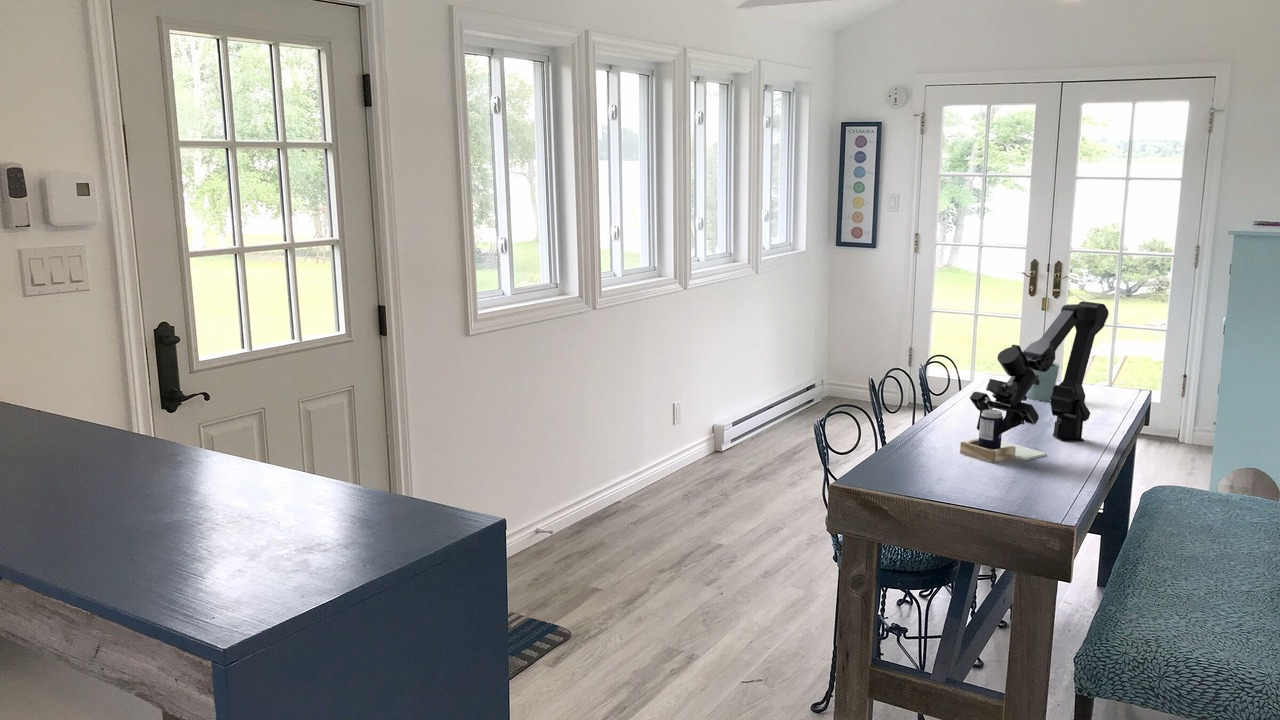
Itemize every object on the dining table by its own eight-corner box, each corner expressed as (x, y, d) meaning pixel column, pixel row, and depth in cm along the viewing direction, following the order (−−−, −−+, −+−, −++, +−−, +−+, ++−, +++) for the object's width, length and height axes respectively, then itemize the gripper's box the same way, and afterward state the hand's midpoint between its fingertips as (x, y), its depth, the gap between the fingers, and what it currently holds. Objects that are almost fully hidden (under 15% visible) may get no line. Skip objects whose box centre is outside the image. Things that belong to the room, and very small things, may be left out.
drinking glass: (1032, 393, 337) (1035, 359, 335) (1061, 398, 330) (1064, 363, 328) (1018, 397, 330) (1021, 363, 328) (1047, 403, 323) (1051, 367, 321)
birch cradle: (982, 448, 268) (983, 437, 268) (1014, 457, 260) (1015, 446, 259) (959, 452, 264) (960, 442, 263) (991, 462, 255) (992, 451, 254)
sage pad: (997, 441, 276) (997, 439, 276) (1046, 455, 262) (1046, 453, 262) (975, 445, 271) (975, 443, 271) (1024, 460, 258) (1025, 458, 258)
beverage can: (1001, 458, 259) (1005, 414, 256) (978, 457, 260) (982, 413, 258) (998, 453, 264) (1001, 409, 262) (976, 451, 265) (979, 408, 263)
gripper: (976, 362, 267) (946, 406, 264) (1035, 374, 252) (1003, 421, 248) (993, 387, 273) (963, 430, 269) (1052, 401, 257) (1021, 447, 254)
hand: (986, 431), depth 260 cm, fingers closed on beverage can, 6 cm apart
